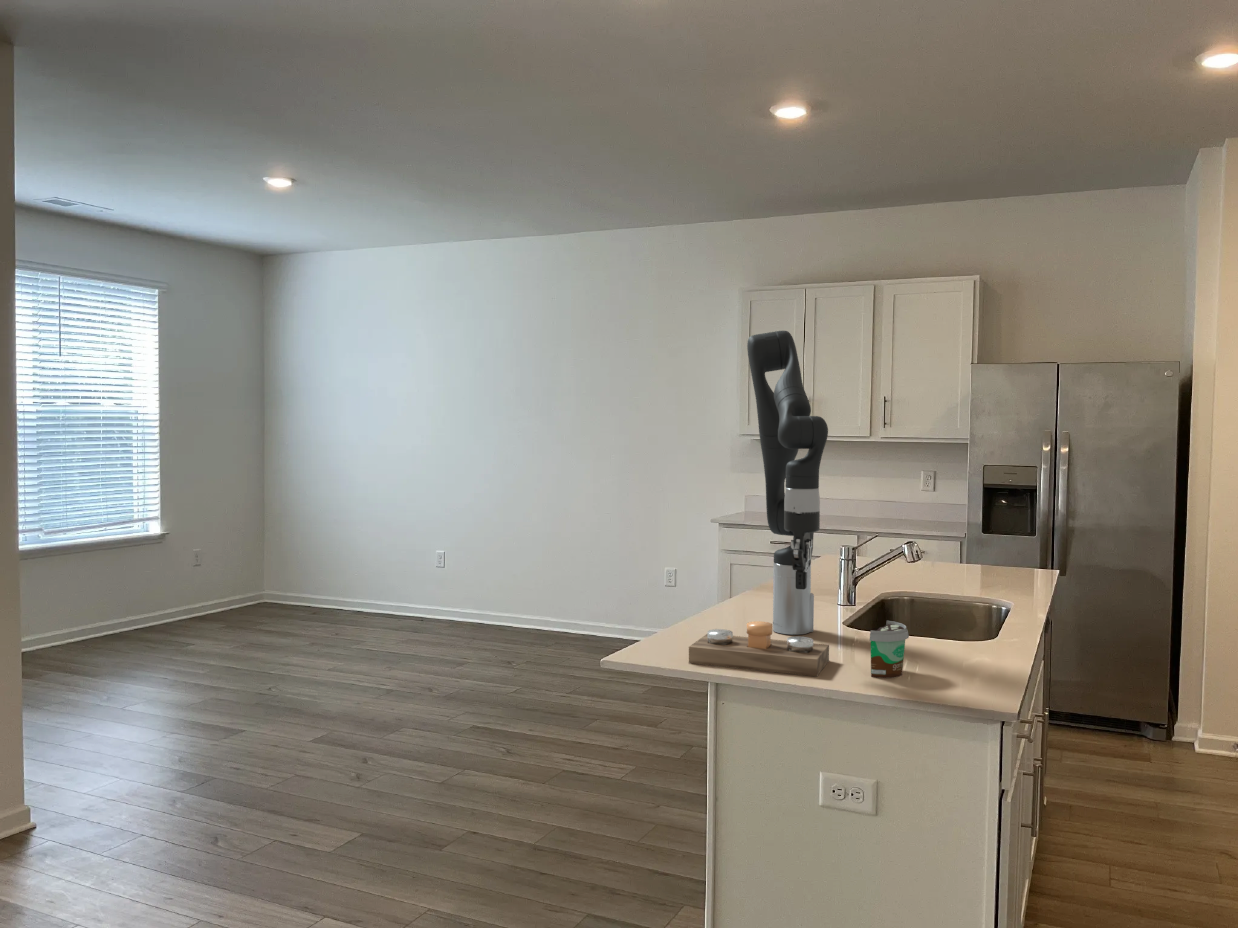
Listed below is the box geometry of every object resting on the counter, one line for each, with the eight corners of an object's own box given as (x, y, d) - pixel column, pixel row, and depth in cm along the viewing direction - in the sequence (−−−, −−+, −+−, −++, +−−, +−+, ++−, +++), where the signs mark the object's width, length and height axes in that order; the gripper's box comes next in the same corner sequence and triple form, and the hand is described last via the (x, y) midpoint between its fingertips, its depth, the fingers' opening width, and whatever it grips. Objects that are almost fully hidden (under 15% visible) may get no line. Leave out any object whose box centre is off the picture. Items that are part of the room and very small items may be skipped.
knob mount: (707, 648, 227) (707, 633, 227) (828, 660, 217) (829, 644, 216) (688, 662, 214) (688, 646, 214) (816, 676, 204) (816, 659, 203)
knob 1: (711, 649, 222) (711, 628, 222) (735, 652, 220) (735, 630, 220) (704, 655, 217) (704, 633, 217) (728, 658, 215) (728, 635, 215)
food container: (898, 682, 199) (899, 634, 199) (868, 678, 202) (869, 630, 202) (915, 669, 210) (916, 623, 209) (886, 665, 213) (887, 619, 212)
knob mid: (750, 642, 219) (750, 620, 219) (774, 644, 217) (775, 622, 216) (743, 648, 214) (743, 625, 213) (768, 650, 212) (769, 627, 211)
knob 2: (789, 657, 216) (790, 635, 215) (815, 660, 213) (815, 637, 213) (784, 663, 210) (784, 640, 210) (810, 666, 208) (810, 643, 208)
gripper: (791, 505, 218) (790, 582, 219) (777, 511, 205) (777, 592, 207) (825, 506, 215) (824, 584, 216) (813, 512, 203) (812, 595, 204)
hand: (801, 588), depth 211 cm, fingers closed
